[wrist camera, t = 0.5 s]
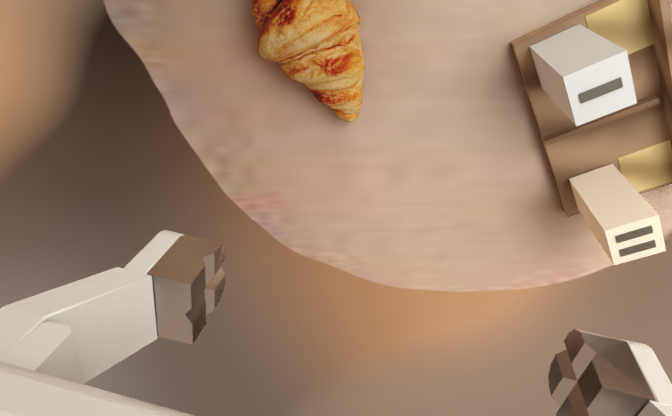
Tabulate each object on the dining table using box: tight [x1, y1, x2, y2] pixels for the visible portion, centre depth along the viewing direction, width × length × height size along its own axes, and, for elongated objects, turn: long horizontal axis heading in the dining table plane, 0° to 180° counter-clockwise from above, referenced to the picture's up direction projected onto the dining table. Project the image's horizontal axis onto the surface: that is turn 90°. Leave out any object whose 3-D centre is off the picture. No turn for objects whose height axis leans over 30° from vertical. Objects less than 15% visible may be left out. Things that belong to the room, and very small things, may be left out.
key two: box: [569, 164, 666, 265], centre depth 46 cm, size 4×5×10 cm
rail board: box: [511, 0, 672, 217], centre depth 45 cm, size 22×12×4 cm, turn 28°
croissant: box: [251, 0, 365, 122], centre depth 43 cm, size 21×10×8 cm, turn 28°
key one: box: [529, 24, 637, 126], centre depth 39 cm, size 4×5×10 cm
